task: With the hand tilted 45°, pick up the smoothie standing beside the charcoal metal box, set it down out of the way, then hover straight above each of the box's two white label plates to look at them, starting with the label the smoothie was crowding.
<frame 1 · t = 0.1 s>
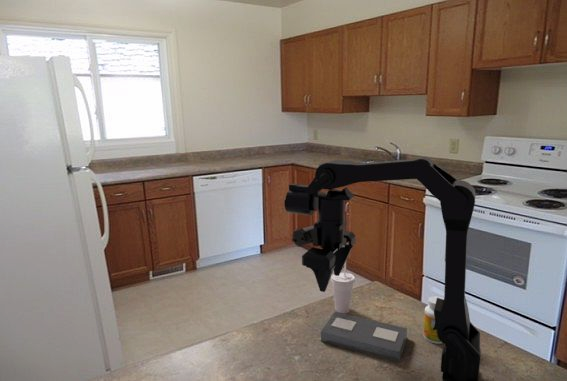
hand: (329, 283, 86), 15 cm above the countertop, tool pointing down, fingers open, 9 cm apart
label box: (363, 339, 89), on the countertop
smoothie: (342, 310, 103), on the countertop
supplement bottle: (434, 338, 90), on the countertop
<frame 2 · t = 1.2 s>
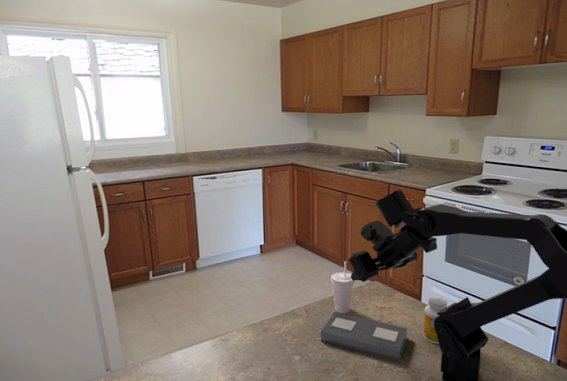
hand: (364, 273, 94), 13 cm above the countertop, tool tilted 45°, fingers open, 9 cm apart
nothing on the countertop moved.
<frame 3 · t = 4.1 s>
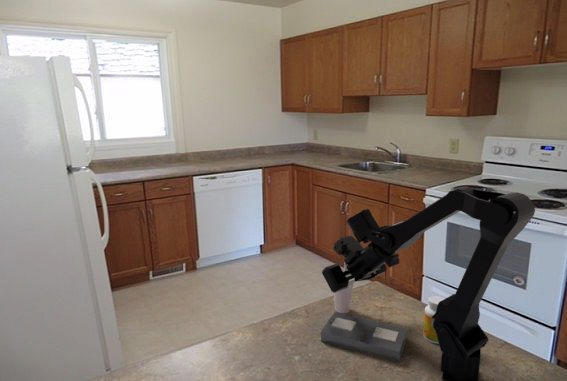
hand: (339, 283, 103), 7 cm above the countertop, tool tilted 45°, fingers closed on smoothie, 6 cm apart
smoothie: (342, 310, 103), on the countertop, touching gripper
everything else where it was.
when the fingers open (8 cm above the countertop, at t = 7.8 s): smoothie drops 1 cm, on the countertop.
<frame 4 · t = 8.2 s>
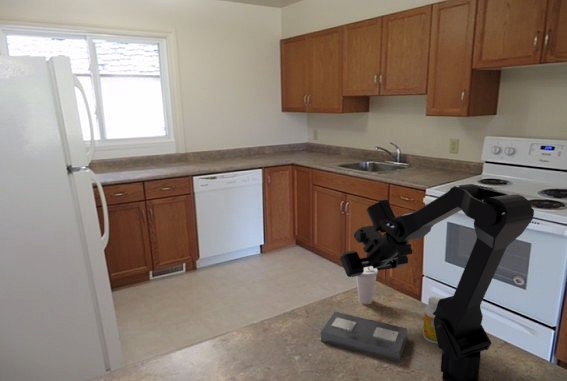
hand: (361, 271, 107), 9 cm above the countertop, tool tilted 45°, fingers open, 9 cm apart
smoothie: (365, 301, 107), on the countertop
everything else where it was.
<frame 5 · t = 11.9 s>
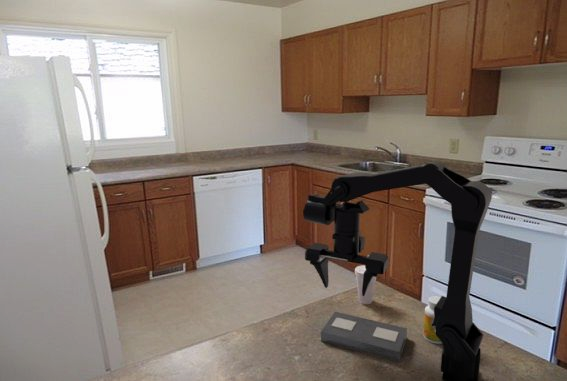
hand: (344, 291, 89), 11 cm above the countertop, tool pointing down, fingers open, 9 cm apart
nothing on the countertop moved.
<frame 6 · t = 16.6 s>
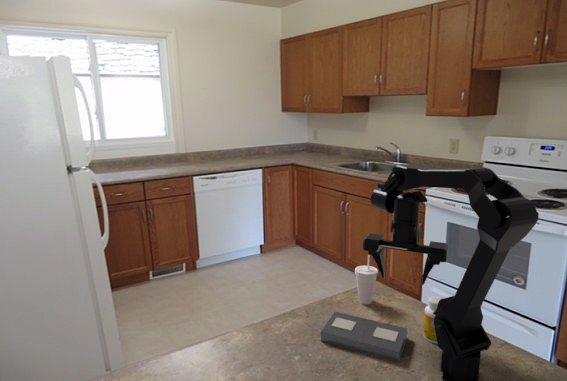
hand: (402, 280, 90), 13 cm above the countertop, tool pointing down, fingers open, 9 cm apart
nothing on the countertop moved.
at the end: smoothie inside the target area (0.6 cm from its centre), on the countertop; smoothie tilted 0°; the gripper is holding nothing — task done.
